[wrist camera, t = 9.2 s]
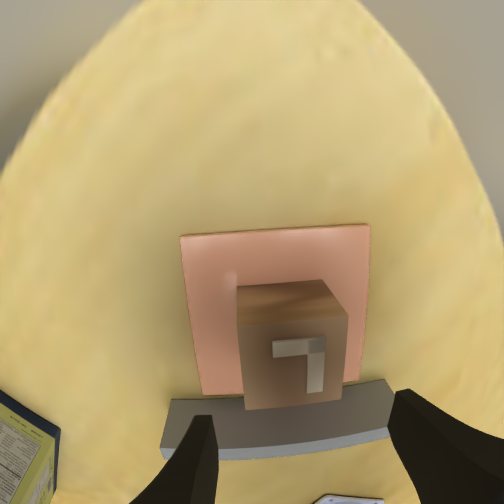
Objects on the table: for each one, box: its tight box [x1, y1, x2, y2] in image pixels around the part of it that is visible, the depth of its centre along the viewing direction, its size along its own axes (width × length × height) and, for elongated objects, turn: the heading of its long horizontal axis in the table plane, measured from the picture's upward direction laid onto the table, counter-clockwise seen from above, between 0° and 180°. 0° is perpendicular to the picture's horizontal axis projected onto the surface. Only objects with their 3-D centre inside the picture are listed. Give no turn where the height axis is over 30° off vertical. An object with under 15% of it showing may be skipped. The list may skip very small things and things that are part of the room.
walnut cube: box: [237, 279, 349, 410], centre depth 17 cm, size 5×5×5 cm
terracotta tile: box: [180, 224, 371, 395], centre depth 20 cm, size 11×11×1 cm
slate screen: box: [160, 379, 395, 460], centre depth 19 cm, size 16×1×5 cm, turn 93°
